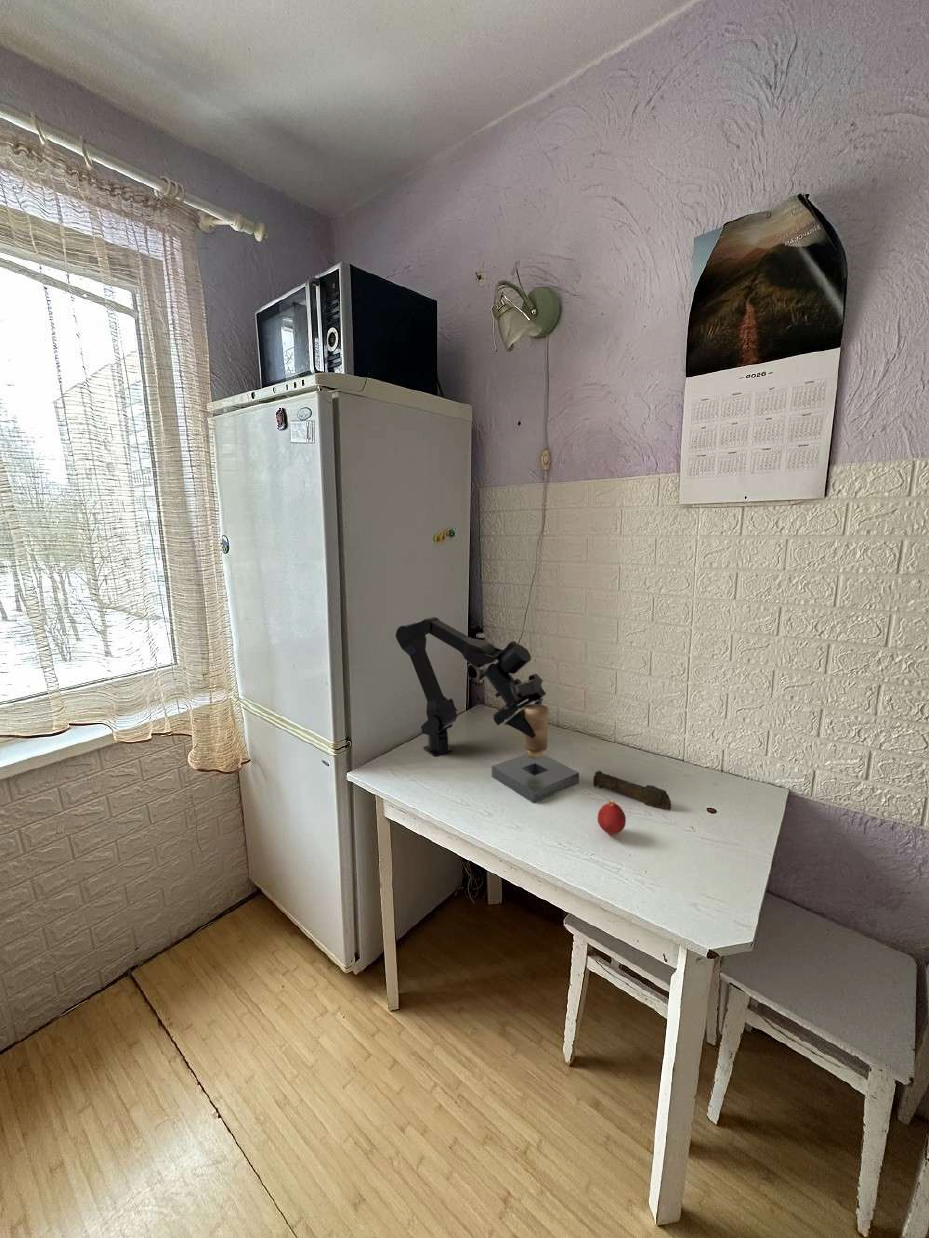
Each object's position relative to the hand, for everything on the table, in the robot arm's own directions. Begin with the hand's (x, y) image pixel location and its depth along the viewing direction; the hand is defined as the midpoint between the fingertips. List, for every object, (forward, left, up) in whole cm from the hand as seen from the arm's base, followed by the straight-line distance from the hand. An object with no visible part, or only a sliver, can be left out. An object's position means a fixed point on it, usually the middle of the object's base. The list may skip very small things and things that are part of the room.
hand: (540, 732), depth 129 cm
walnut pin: (-1, 0, -7) cm, 7 cm away
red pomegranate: (+26, -3, -14) cm, 29 cm away
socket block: (-1, 0, -13) cm, 13 cm away
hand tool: (+19, +14, -14) cm, 27 cm away
